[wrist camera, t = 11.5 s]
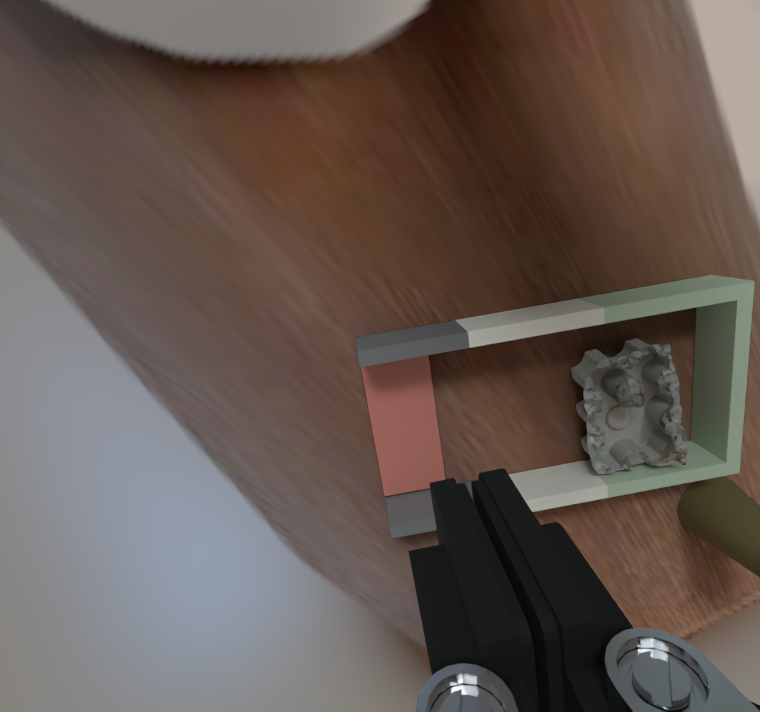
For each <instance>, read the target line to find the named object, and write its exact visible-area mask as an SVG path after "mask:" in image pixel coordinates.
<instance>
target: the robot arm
mask: <svg viewBox="0 0 760 712" xmlns="http://www.w3.org/2000/svg"><path fill="white" fill-rule="evenodd" d="M471 487H472V495H473V500H472V497H471V495H470V493H469V491H468V488H467V486H466V484H465V483H461V484H456V481H455V479H454V478H451V479H446V480H441V481H436V482H430V491H431V497H432V504H433V510H434V516H435V522H436V529H437V535H438V541H439V545H437V546H432V547H427V548H422V549H417V550H411V551H409V556H410V561H411V567H412V572H413V577H414V583H415V588H416V593H417V599H418V604H419V609H420V615H421V620H422V625H423V630H424V635H425V641H426V646H427V651H428V656H429V661H430V667H431V672H432V676H431V677H430V678H429V680H428V681H427V682H426V683H425V684H424V686H423V688H422V690H421V692H420V694H419V696H418V699H417V706H416V712H760V705H757V704H755V703H753V702H751V701H749V700H748V699H747V698H746V697H745V696H744V695H743V694H742V693H741V692H740V691H739V690H738V689H737V688H736V687H735V686H734V685H733V684H732V683H731V682H730V681H729V680H728V679H727V678H726V677H725V676H724V675H723V674H722V673H721V672H720V671H719V670H718V669H717V668H716V667H715V666H714V665H713V664H712V663H711V662H710V661H709V660H708V659H707V658H706V657H705V656H704V655H703V654H701V653H700V652H699V651H698V650H697V649H695V648H694V647H693V646H691V645H690V644H689V643H688V642H686V641H684V640H682V639H680V638H678V637H676V636H675V635H673V634H670V633H667V632H664V631H660V630H657V629H652V628H639V627H638V628H633V627H632V625H631V624H630V622H629V621H628V619H627V618H626V617H625V615H624V614H623V612H622V611H621V609H620V608H619V607H618V605H617V604H616V602H615V601H614V600H613V598H612V597H611V595H610V594H609V592H608V591H607V590H606V588H605V587H604V585H603V584H602V582H601V581H600V580H599V578H598V577H597V575H596V574H595V572H594V571H593V570H592V568H591V567H590V565H589V564H588V562H587V561H586V560H585V558H584V557H583V555H582V554H581V552H580V551H579V550H578V548H577V547H576V545H575V544H574V542H573V541H572V540H571V538H570V537H569V535H568V534H567V532H566V531H565V530H564V528H563V527H562V526H561V525H560V524H559V523H557V522H554V523H549V524H544V525H540V524H539V522H538V520H537V519H536V517H535V516H534V514H533V512H532V511H531V509H530V508H529V506H528V505H527V503H526V501H525V500H524V498H523V497H522V495H521V494H520V492H519V490H518V489H517V487H516V486H515V484H514V482H513V481H512V479H511V478H510V476H509V475H508V473H507V471H506V470H505V469H498V470H492V471H487V472H482V473H479V480H476V481H472V482H471Z"/></svg>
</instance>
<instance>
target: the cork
mask: <svg viewBox="0 0 760 712" xmlns="http://www.w3.org/2000/svg"><path fill="white" fill-rule="evenodd" d="M677 513H678V516H679V520H680V521H681V523H682V524H683V525H684V526H685V527H686V528H688V529H689V530H691V531H692V532H694V533H695V534H697V535H698V536H700V537H701V538H703V539H704V540H706V541H707V542H708V543H710V544H711V545H713V546H714V547H716V548H717V549H719V550H720V551H722V552H723V553H725V554H726V555H728V556H729V557H731V558H732V559H734V560H735V561H736V562H738V563H739V564H741V565H742V566H744V567H745V568H747V569H748V570H750V571H751V572H753V573H754V574H756V575H757V576H759V577H760V506H759V505H758V504H757V503H756V502H755V501H754V500H753V499H752V498H750V497H749V496H748V495H747V494H746V493H745V492H744V491H743V490H742V489H740V488H739V487H738V486H737V485H736V484H735V483H734V482H732V481H731V480H729V479H727V478H726V477H716V478H710V479H705V480H700V481H697V482H695V483H694V484H693V485H691V486H690V487H689V488H688V489H687V490H686V491H685V492H684V494H683V495H682V497H681V499H680V501H679V504H678V512H677Z"/></svg>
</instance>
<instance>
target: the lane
mask: <svg viewBox="0 0 760 712" xmlns="http://www.w3.org/2000/svg"><path fill="white" fill-rule="evenodd" d="M754 283H755V281H751V280H744V279H738V278H731V277H724V276H717V275H708V276H702V277H697V278H691V279H685V280H680V281H674V282H668V283H663V284H657V285H651V286H646V287H640V288H634V289H629V290H623V291H617V292H612V293H606V294H600V295H595V296H589V297H583V298H578V299H572V300H566V301H561V302H555V303H549V304H544V305H538V306H532V307H527V308H521V309H515V310H510V311H504V312H498V313H493V314H487V315H481V316H476V317H470V318H464V319H459V320H453V321H447V322H442V323H436V324H430V325H425V326H419V327H413V328H408V329H402V330H396V331H391V332H385V333H379V334H374V335H368V336H362V337H357V338H356V346H357V354H358V359H359V365H360V367H361V370H362V375H363V381H364V386H365V392H366V397H367V402H368V408H369V413H370V419H371V424H372V430H373V435H374V441H375V446H376V451H377V457H378V462H379V468H380V473H381V479H382V484H383V489H384V495H385V496H390V495H395V494H401V493H406V492H411V491H417V490H422V489H427V490H422V491H417V492H411V493H406V494H401V495H395V496H390V497H385V501H386V507H387V514H388V521H389V527H390V533H391V538H398V537H403V536H408V535H413V534H419V533H424V532H429V531H435V530H437V529H436V522H435V516H434V510H433V504H432V497H431V491H430V489H428V488H430V482H436V481H441V480H446V479H445V472H444V465H443V457H442V450H441V443H440V435H439V428H438V421H437V413H436V406H435V399H434V392H433V384H432V377H431V370H430V362H429V355H432V354H438V353H443V352H449V351H455V350H460V349H466V348H471V347H477V346H483V345H488V344H494V343H500V342H505V341H511V340H516V339H522V338H528V337H533V336H539V335H544V334H550V333H556V332H561V331H567V330H572V329H578V328H584V327H589V326H595V325H601V324H606V323H612V322H617V321H623V320H629V319H634V318H640V317H645V316H651V315H657V314H662V313H668V312H673V311H679V310H685V309H690V308H696V331H695V354H694V378H693V402H692V425H691V441H687V444H686V447H687V455H686V459H687V462H686V465H682V463H676V464H669V465H665V466H653V465H649V464H647V463H646V462H643V463H640V464H635V465H631V466H632V467H633V469H632V470H618V471H614V473H613V474H600V475H598V473H597V472H596V471H595V470H594V468H593V466H592V462H591V459H589V460H583V461H578V462H573V463H567V464H562V465H556V466H551V467H546V468H540V469H535V470H530V471H524V472H519V473H513V474H508V475H509V476H510V478H511V479H512V481H513V482H514V484H515V486H516V487H517V489H518V490H519V492H520V494H521V495H522V497H523V498H524V500H525V501H526V503H527V505H528V506H529V508H530V509H531V511H532V512H535V511H541V510H546V509H551V508H557V507H562V506H567V505H573V504H578V503H583V502H588V501H594V500H599V499H604V498H610V497H615V496H620V495H626V494H631V493H636V492H642V491H647V490H652V489H657V488H663V487H668V486H673V485H679V484H684V483H689V482H695V481H700V480H705V479H710V478H716V477H721V476H726V475H732V474H737V473H740V460H741V447H742V435H743V422H744V409H745V397H746V384H747V371H748V359H749V346H750V333H751V321H752V308H753V295H754ZM471 482H472V481H470V482H465V484H466V486H467V488H468V491H469V493H470V495H471V497H472V500H473V495H472V487H471ZM460 484H461V483H460Z"/></svg>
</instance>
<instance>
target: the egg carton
mask: <svg viewBox="0 0 760 712" xmlns="http://www.w3.org/2000/svg"><path fill="white" fill-rule="evenodd" d="M670 351H671V346H670V344H669V343H668V344H667V345H661V344H654V345H649V344H646V343H645V342H643V341H641V340H639V339H638V338H636V339H632V340H626V341H625V345H624V347H623V349H622V351H621V352H620V353H618V354H617V355H616V356H614V357H609V358H608V357H607V356H605V355H604V354H602V353H601V352H600V351H598V350H597V349H593V350H589V351H586V352H585V353H584V357H583V359H582V360H581V362H580V363H579V364H578V365H576V366H574V367H572V368H571V373H572V378H573V379H574V380H575V381H576V382H577V383H578V384H579V385H580V386H582V387H583V388H584V390H583V396H584V399H583V400H582V401H581V402H579V403H577V404H576V409H577V413H578V415H579V416H580V417H581V418H582V419H583V420H584V421H585V422H586V425H587V435H586V436H584V437H583V438H582V439H581V443H582V446H583V449H584V450H585V451H586V452H587V453H588V454H589V455H590V458H591V462H592V466H593V468H594V470H595V471H596V472H597V473H598V475H600V474H613V473H614V471H618V470H632V469H633V467H632V466H631V465H635V464H640V463H643V462H646V463H647V464H649V465H653V466H665V465H669V464H676V463H682V465H686V462H687V459H686V455H687V447H686V444H687V440H686V434H685V429H684V428H683V426H682V424H681V416H682V407H681V405H680V396H679V385H680V383H679V380H678V376H677V373H676V369H675V367H674V365H673V360H672V357H671V355H670Z"/></svg>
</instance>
